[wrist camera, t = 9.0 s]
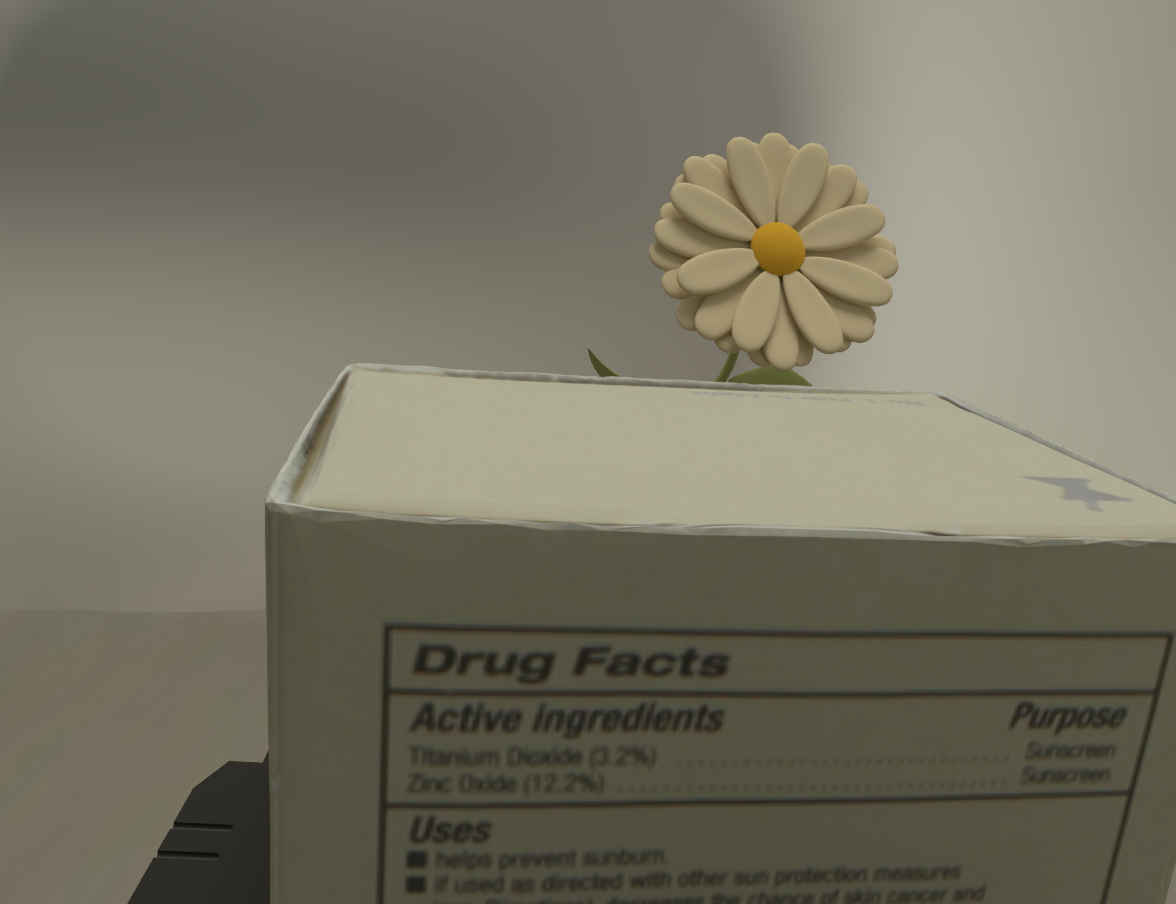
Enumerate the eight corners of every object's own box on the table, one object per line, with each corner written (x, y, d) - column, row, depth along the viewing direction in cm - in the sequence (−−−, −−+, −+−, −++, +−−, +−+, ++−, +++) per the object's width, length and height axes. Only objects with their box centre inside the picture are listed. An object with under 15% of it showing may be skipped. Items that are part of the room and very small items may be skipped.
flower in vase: (418, 848, 34) (460, 92, 28) (513, 694, 45) (559, 123, 39) (795, 937, 32) (940, 132, 25) (800, 752, 43) (903, 153, 36)
